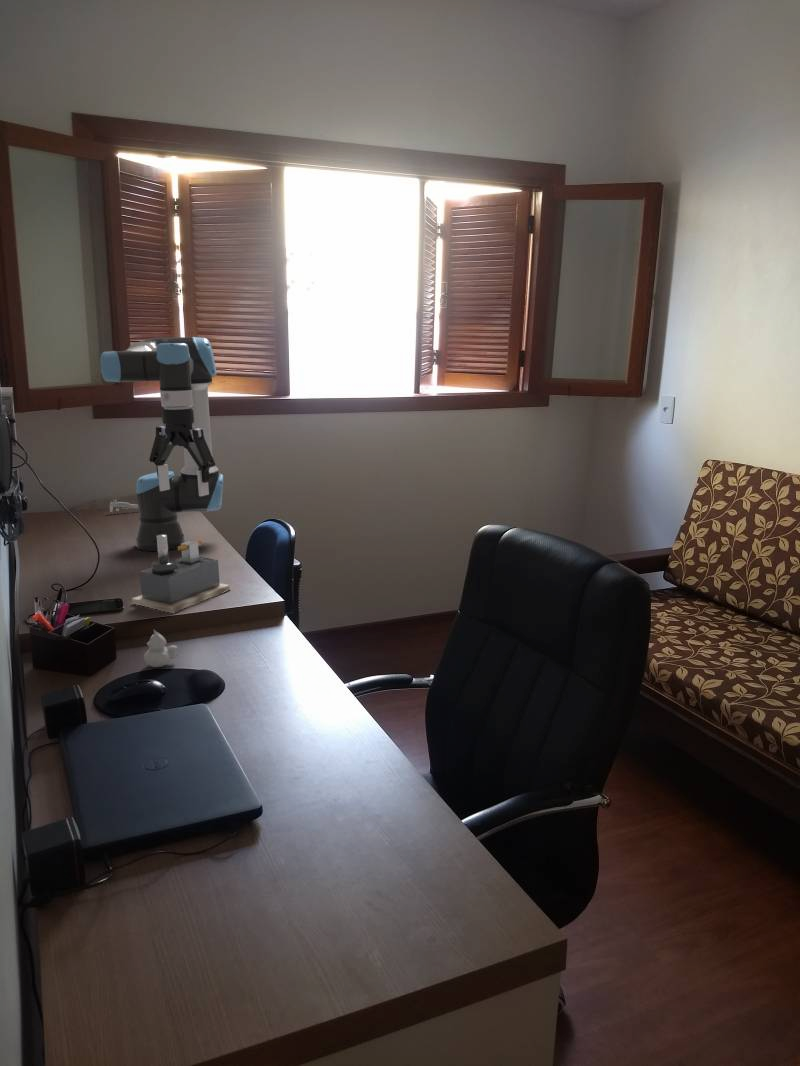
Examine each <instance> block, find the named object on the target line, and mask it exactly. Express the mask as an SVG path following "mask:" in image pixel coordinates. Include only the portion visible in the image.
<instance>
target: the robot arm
mask: <svg viewBox="0 0 800 1066" xmlns="http://www.w3.org/2000/svg"><path fill="white" fill-rule="evenodd" d="M213 351H214V350H213V348H212V344H211V342H210V340H209V339H208V338H206V337H199V336H190V337H189V336H188V337H187V336H184V337H183V336H182V337H178V336H177V337H153V338H148V339H144V340H142V341H138V342H134V343H133V344H131V345H130V346H128V348H127V349H125V350H121V351H118V350H112V351H103V352H102V353H101V354H100V359H99V360H100V361H99V362H100V373H101V376H102V378H103V380H104V381H105V382H108V383H112V382H113V383H131V382H132V383H133V382H159V392H160V394H159V395H160V403H161V404H160V406H161V407H162V408H163V409H162V410H161V418H162V419H161V420H162V424H163V425H160V426H159V425H158V426H156V427H155V438H154V441H153V443H152V447H151V452H150V454H149V462H150V463H154V465H155V466H156V472H153V473H149V474H145V475H142V476H140V477H138V479H137V480H136V484H135V485H136V491H135V493H136V495H137V497H136V498H137V499H136V500H137V505H138V517H139V519H138V520H139V523H138V524H139V525H138V530H137V534H136V535H137V536H136V538H135V547H137V548H136V549H138V550H141V551H144V552H145V551H148V552H158V546H157V535H161V534H165V535H167V544H168V551H169V550H174V549H177V548H178V546H181V543H184V542H186V537H185V534H184V532H183V530H182V527H181V524H180V523H179V520H178V513H193V512H194V513H195V512H205V513H207V512H213V511H219V510H220V509H221V507H222V504H223V503H222V501H223V490H224V489H223V488H224V475H223V474H222V473H220V472H219V468H218V467H217V466H216V462H215V460H214V458H213V457H214V456H213V445H212V443H213V442H212V431H211V417H210V403H209V392H208V391H209V390H208V389H209V387H210V386H211V384H212V383H213V378H214V377H217V368H216V362H215V357H214V352H213ZM176 446H179V447H183V454H184V455H183V456H184V466H183V467H182V469H180V475H175V473H174V471H172V470H169V465H168V463H167V460H168V458H169V457H170V455H171V453H172V452H173V450H174V448H175V447H176Z"/></svg>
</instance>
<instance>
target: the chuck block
mask: <svg viewBox="0 0 800 1066" xmlns="http://www.w3.org/2000/svg"><path fill="white" fill-rule="evenodd" d="M157 546H158V551H157V555H158V557H157V558H158V560H155V561H153V562H151V564H150V565H151V567H148V568H146V569H143V570H140V571H139V577H140V578H139V580H140V586H141V587H140V589H141V590H140V591H141V595H142V598H144V599H148V600H153V601H157V602H161V603H166V604H170V605H171V604H174V603H176V602H179V601H181V600H184V599H187V598H189V597H192V596H194V595H197V594H199V593H202V592H204V591H207V590H210V589H212V588H215V587H217V586H220V583H221V582H220V571H219V559H216V558H210V557H203V556H199V563H196V564H193V565H190V566H189V565H184V564H182V557H179V558H176V559H170V556H169V550H168V544H167V535H165V534H161V535H157Z"/></svg>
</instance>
